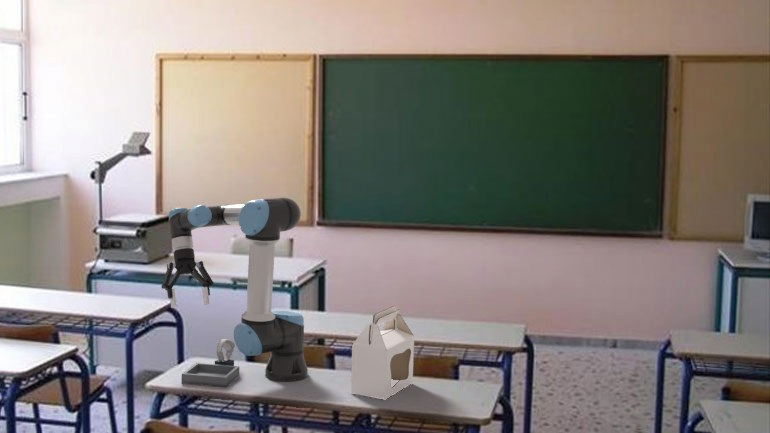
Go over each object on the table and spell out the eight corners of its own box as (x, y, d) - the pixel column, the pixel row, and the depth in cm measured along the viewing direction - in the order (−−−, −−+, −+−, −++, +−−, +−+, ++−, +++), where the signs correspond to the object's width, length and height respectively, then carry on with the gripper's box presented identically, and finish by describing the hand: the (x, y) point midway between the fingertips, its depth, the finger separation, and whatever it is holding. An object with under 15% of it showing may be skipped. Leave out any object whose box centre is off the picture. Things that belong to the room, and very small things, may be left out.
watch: (236, 366, 346) (237, 337, 344) (225, 372, 338) (225, 342, 337) (223, 364, 348) (223, 335, 346) (211, 370, 340) (212, 340, 339)
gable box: (385, 401, 312) (387, 318, 309) (350, 394, 318) (352, 313, 315) (413, 383, 332) (415, 306, 329) (379, 377, 338) (382, 301, 334)
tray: (239, 375, 335) (239, 366, 334) (225, 387, 321) (226, 377, 321) (196, 372, 338) (196, 362, 337) (181, 383, 324) (181, 373, 323)
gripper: (207, 250, 361) (215, 305, 357) (147, 252, 344) (154, 310, 340) (217, 246, 355) (225, 301, 351) (157, 248, 339) (164, 306, 335)
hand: (190, 306), depth 346 cm, fingers open, 13 cm apart
